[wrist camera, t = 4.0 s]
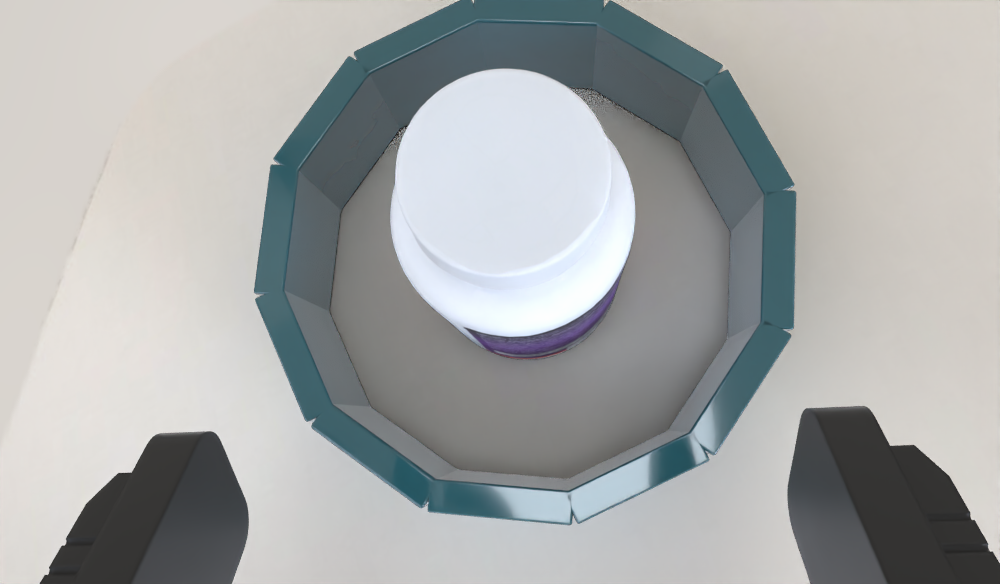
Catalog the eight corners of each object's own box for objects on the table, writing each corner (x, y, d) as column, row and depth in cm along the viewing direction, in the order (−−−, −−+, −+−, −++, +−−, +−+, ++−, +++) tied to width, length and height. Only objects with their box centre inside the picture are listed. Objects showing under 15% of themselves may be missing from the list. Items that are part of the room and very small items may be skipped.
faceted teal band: (284, 481, 23) (226, 493, 19) (335, 56, 25) (293, -12, 21) (749, 523, 22) (790, 546, 18) (761, 71, 24) (800, 2, 20)
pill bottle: (650, 243, 23) (709, 118, 14) (557, 395, 23) (551, 376, 13) (499, 156, 24) (456, -18, 15) (406, 301, 24) (297, 219, 14)
